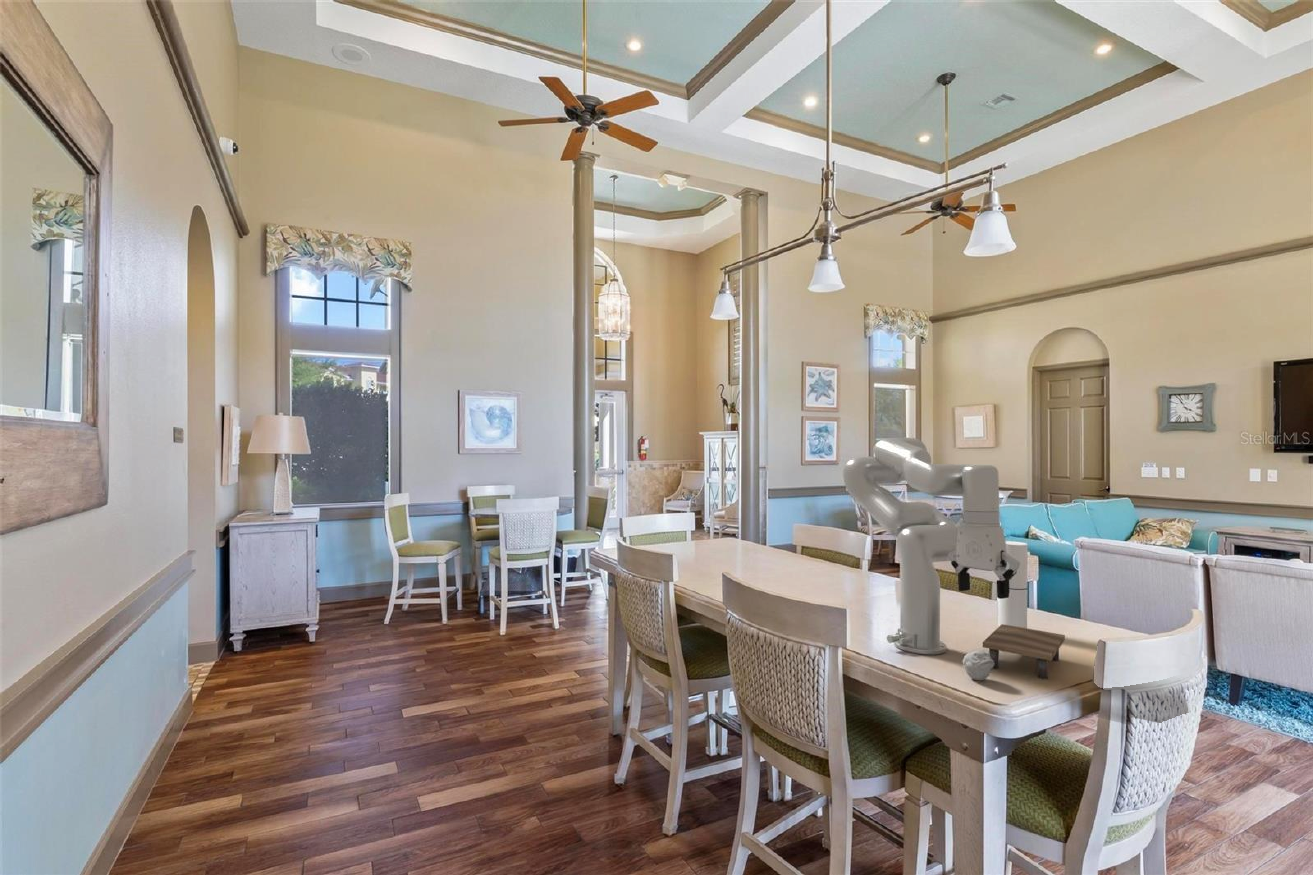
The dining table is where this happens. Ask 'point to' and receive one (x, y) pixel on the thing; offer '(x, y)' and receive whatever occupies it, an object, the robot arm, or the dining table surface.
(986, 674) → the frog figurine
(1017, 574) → the cylindrical container
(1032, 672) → the dining table surface
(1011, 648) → the walnut shelf
